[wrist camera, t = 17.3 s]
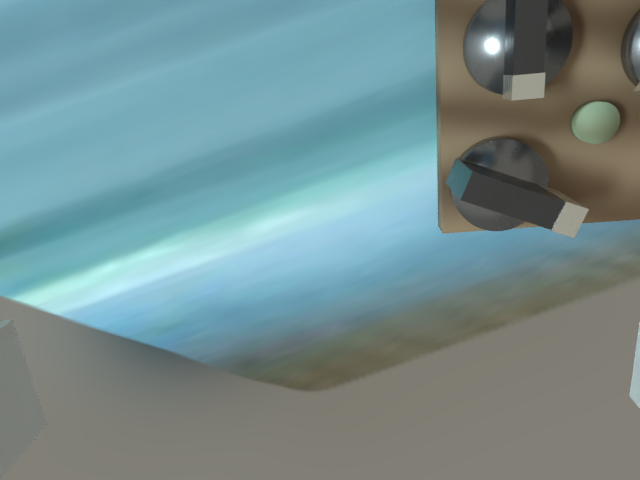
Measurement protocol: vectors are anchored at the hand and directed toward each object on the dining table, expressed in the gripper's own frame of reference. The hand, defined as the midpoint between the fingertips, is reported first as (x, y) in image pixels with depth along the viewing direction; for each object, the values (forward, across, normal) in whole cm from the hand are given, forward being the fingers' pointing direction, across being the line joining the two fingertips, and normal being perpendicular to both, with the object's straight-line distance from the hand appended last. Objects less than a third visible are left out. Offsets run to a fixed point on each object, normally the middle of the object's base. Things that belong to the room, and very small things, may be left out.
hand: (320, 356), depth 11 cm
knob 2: (+30, +12, -4) cm, 32 cm away
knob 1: (+30, +13, +6) cm, 33 cm away
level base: (+32, +18, +1) cm, 36 cm away
